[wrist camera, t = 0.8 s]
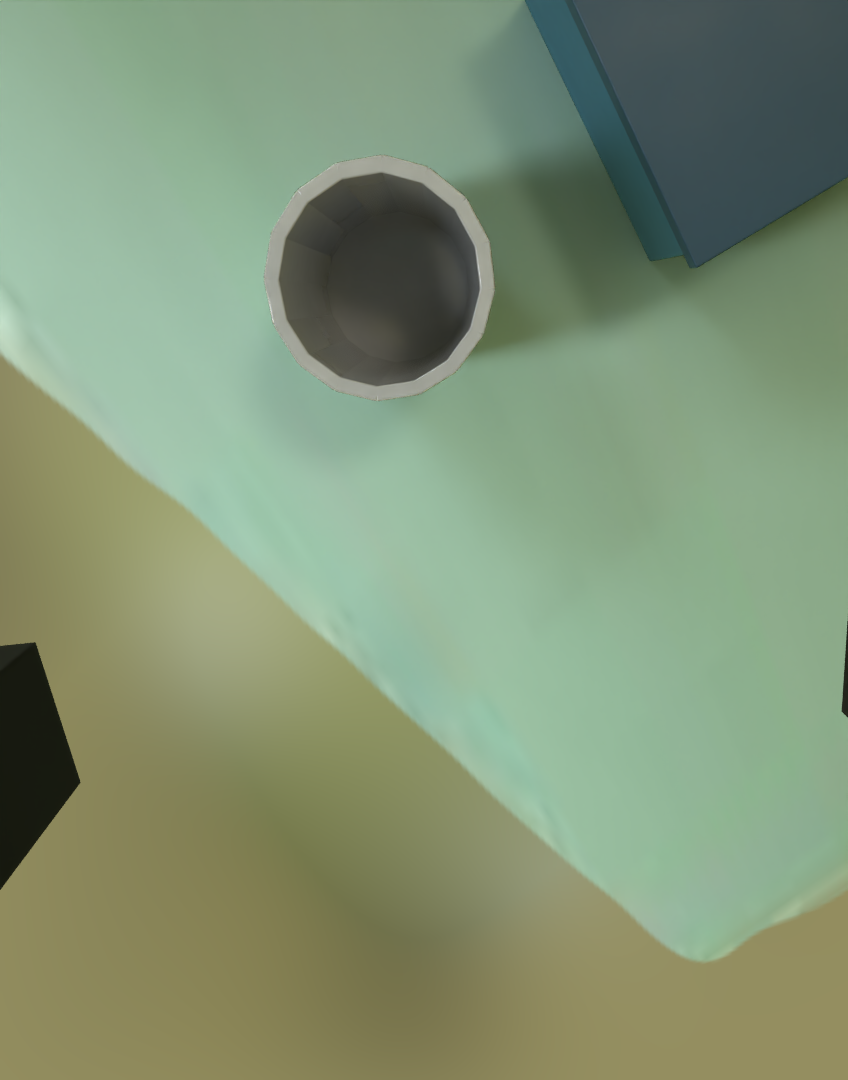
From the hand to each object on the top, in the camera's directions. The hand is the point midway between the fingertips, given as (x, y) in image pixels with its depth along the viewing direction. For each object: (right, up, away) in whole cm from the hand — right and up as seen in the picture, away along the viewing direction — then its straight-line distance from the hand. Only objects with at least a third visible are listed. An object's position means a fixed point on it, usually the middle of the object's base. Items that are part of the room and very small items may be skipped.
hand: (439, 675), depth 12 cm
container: (+12, +23, +19) cm, 32 cm away
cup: (-1, +14, +22) cm, 26 cm away
